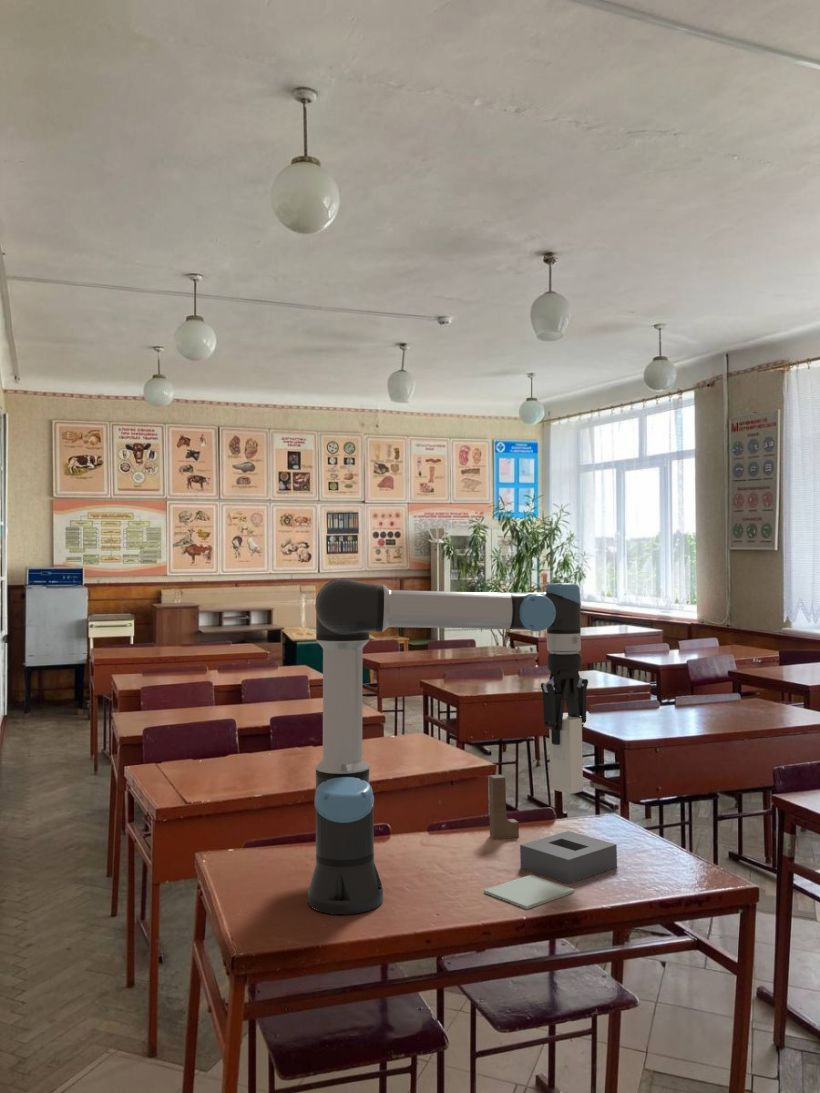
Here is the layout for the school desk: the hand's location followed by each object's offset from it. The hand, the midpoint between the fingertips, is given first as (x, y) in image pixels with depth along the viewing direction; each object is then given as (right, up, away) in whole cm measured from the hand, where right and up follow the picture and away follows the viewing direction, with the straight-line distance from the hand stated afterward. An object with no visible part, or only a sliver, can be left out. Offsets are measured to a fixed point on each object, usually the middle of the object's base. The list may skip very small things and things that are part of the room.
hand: (566, 757), depth 200 cm
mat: (-10, -24, -16) cm, 31 cm away
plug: (0, -7, 0) cm, 7 cm away
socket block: (0, -24, -1) cm, 24 cm away
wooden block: (-11, -25, +23) cm, 36 cm away
